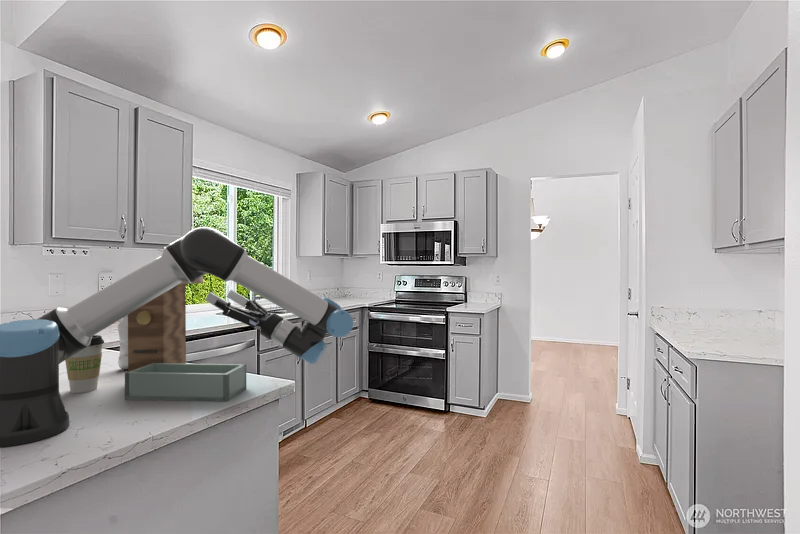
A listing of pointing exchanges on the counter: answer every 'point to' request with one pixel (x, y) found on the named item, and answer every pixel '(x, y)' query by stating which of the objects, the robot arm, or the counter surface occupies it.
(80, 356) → the coffee cup
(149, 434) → the counter surface
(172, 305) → the brown wooden box
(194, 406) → the counter surface
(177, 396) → the tray
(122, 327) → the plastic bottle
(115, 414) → the counter surface
